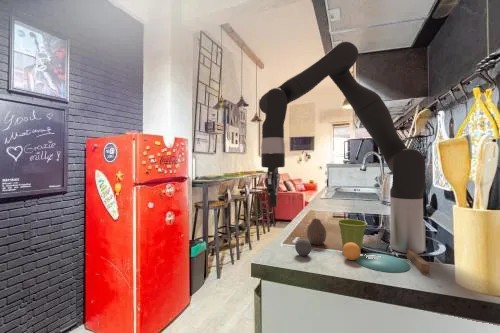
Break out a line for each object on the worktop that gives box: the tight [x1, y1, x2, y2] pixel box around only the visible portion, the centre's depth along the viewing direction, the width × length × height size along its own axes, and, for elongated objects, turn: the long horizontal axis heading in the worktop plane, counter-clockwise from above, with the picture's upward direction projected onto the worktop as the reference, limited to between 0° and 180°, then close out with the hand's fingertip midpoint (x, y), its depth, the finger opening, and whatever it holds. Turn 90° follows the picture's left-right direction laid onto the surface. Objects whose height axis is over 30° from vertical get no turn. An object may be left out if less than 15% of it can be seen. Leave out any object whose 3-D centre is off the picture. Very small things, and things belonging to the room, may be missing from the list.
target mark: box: [355, 252, 411, 273], centre depth 72 cm, size 14×14×1 cm
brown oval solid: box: [306, 218, 327, 246], centre depth 90 cm, size 7×7×9 cm
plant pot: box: [337, 218, 368, 250], centre depth 85 cm, size 9×9×9 cm
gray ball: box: [294, 238, 312, 257], centre depth 78 cm, size 5×5×5 cm
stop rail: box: [406, 249, 430, 276], centre depth 69 cm, size 12×2×2 cm, turn 164°
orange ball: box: [342, 242, 362, 261], centre depth 74 cm, size 5×5×5 cm
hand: (273, 206), depth 80 cm, fingers closed
